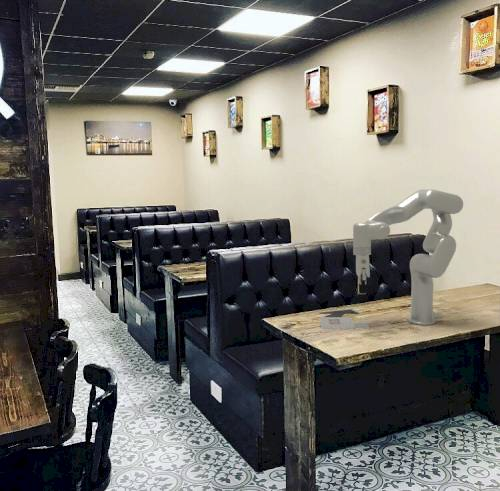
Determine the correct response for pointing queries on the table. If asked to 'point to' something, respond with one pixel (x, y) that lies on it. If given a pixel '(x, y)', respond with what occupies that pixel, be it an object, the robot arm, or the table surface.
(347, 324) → the block
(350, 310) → the picture frame
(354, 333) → the table surface
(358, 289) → the peg
